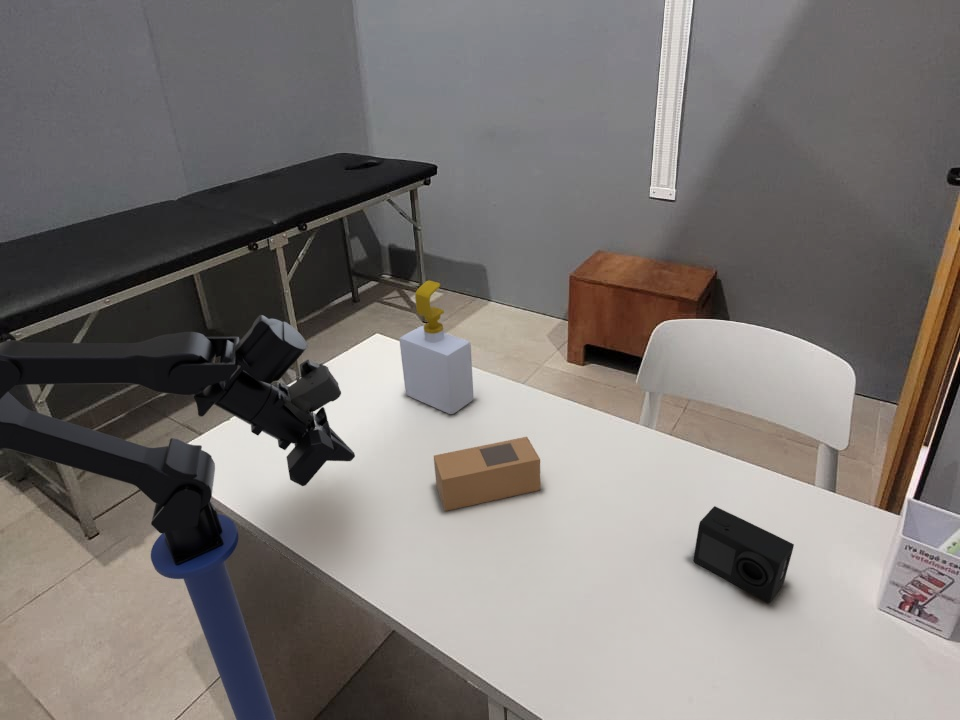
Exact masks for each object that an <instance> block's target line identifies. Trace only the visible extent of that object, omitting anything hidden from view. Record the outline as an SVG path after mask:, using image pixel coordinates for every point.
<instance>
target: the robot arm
mask: <svg viewBox="0 0 960 720" xmlns="http://www.w3.org/2000/svg"><path fill="white" fill-rule="evenodd" d="M308 346H309V345H308V342H307V341H306V339H305V338H304V337H303V335H302V334H301V333H300V332H299V331H298V330H297V329H296V328H295V327H293V326H292V325H290V324H289V323H288V322H286V321H281V320H279V319H277V318H268V317H266V316H265V315H263V314H259V315H258V316H257V317H256V319H254V321H253V324H252V325H251V327H250V328H249V330H248V331H247V332H246V333H245V334H244V335H243V337H241V338H240V337H239V336H205V334H203V333H200V332H196V331H183V332H177V333H168V334H161V335H158V336H155V337H152V338H149V339H146V340H143V341H139V342H132V343H123V342H121V343H120V342H118V343H117V342H115V343H114V342H111V343H110V342H108V343H104V342H103V343H102V342H100V343H99V342H93V343H91V342H24V341H22V340H17V339H12V340H11V339H10V340H5V341H3V342H1V343H0V450H10V451H13V452H18V453H20V454H24V455H28V456H30V457H34V458H39V459H42V460H45V461H49V462H52V463H56V464H59V465H63V466H67V467H70V468H73V469H77V470H80V471H83V472H88V473H91V474H95V475H97V476H102V477H105V478H108V479H112V480H116V481H118V482H122V483H126V484H129V485H132V486H134V487H136V488H137V489H138V490H139V491H140V492H142V493H143V494H144V495H145V496H146V497H147V498H148V499H149V500H150V501H151V502H152V503H154V504H155V505H154V509H153V513H152V518H151V522H150V525H151V526H152V527H153V528H154V529H155V530H156V531H157V532H158V533H159V534H162V533H164V535H165V541H166V543H167V546H168V548H169V551H170V553H171V556H172V558H173V561H174V563H175V565H177V566H178V565H181V564H183V563H185V562H187V561H190V560H192V559H194V558H196V557H198V556H201V555H203V554H205V553H207V552H210V551H212V550H214V549H216V548H218V547H221V546H222V545H223V544H224V542H223V539H222V537H221V535H220V534H221V533H222V532H223V530H222V527H221V524H220V521H219V518H218V514H219V513H218V512H217V509H216V508H215V506H214V504H213V501H211V499H212V497H213V487H214V483H215V482H214V481H215V475H216V474H215V472H216V463H215V461H214V459H213V458H212V455H211V454H210V453H208V452H207V451H205V450H202V448H203V446H202V445H201V444H198V445H197V444H190V443H187V442H185V441H183V440H181V439H178V438H176V437H175V438H174V437H171V438H170V439H169V442H168V445H167V446H158V447H148V446H145V445H142V444H138V443H135V442H132V441H129V440H126V439H122V438H121V437H120V438H119V437H116V436H113V435H110V434H106V433H104V432H101V431H98V430H95V429H91V428H88V427H85V426H81V425H78V424H74V423H72V422H68V421H66V420H62V419H59V418H57V417H56V418H55V417H53V416H49V415H46V414H43V413H40V412H37V411H34V410H31V409H28V408H27V407H25V406H24V405H23V404H21V402H20V401H19V400H18V399H16V398H15V397H14V396H13V395H12V394H11V393H10V390H12V389H13V388H14V387H15V386H21V385H23V386H24V385H25V386H27V385H28V386H31V385H32V386H33V385H34V386H35V385H36V386H37V385H115V384H117V385H122V384H123V385H124V384H128V385H134V386H135V385H136V386H140V387H141V386H142V387H143V388H146V389H148V390H149V391H150V390H151V391H152V392H156V393H158V394H159V393H160V394H168V395H176V396H183V397H184V396H185V397H186V396H187V397H190V396H193V397H192V398H193V400H194V402H195V404H196V409H197V415H198V416H199V417H204V416H206V414H207V413H208V412H209V411H210V409H212V407H213V406H215V407H218V408H219V409H221V410H223V411H225V412H226V413H228V414H230V415H232V416H233V417H236V418H237V419H240V420H241V421H243V422H245V423H246V424H248V425H250V432H251V433H252V434H254V435H256V436H259V435H261V433H262V432H263V433H265V434H266V435H268V436H270V437H272V438H274V439H275V440H276V441H277V445H278V448H280V449H281V450H283V451H286V450H287V449H288V447H290V445H291V444H293V445H294V447H293V448H292V450H291V451H290V452H289V453H288V454H287V455H286V464H287V470H288V475H289V476H288V477H289V480H290V481H292V482H293V483H295V484H297V485H299V486H301V487H304V486H305V487H306V486H307V485H308V484H309V482H310V481H311V480H312V479H313V478H314V476H315V475H317V473H318V472H319V470H320V469H321V468H322V467H323V466H324V465H325V464H326V462H351V461H353V460H354V458H355V457H356V455H355V452H354V450H353V449H352V448H351V447H349V446H348V445H347V443H346V442H345V441H343V439H342V438H341V437H340V436H339V435H338V434H337V432H335V430H334V429H333V428H331V427H330V423H329V420H328V416H327V412H326V408H325V407H324V406H326V405H327V404H329V403H331V402H334V401H336V400H338V399H339V398H340V397H341V396H342V391H341V389H340V386H339V382H338V381H337V380H336V378H335V376H334V375H333V374H332V373H331V371H330V368H329V367H328V365H325V364H323V362H320V363H317V362H315V361H314V360H310V359H306V360H304V361H303V362H301V363H299V374H300V377H299V376H298V377H296V378H295V382H294V383H292V384H291V385H287V384H285V383H284V382H278V381H280V380H281V378H282V377H283V376H284V375H285V374H286V373H287V372H288V371H289V369H290V368H291V367H292V366H293V365H294V364H295V363H296V361H297V360H298V359H299V358H300V357H302V355H303V353H304V352H306V350H307V349H308V348H309V347H308ZM219 357H220V358H219ZM217 358H219V362H216V359H217ZM273 382H275V384H274V385H273V384H272V383H273ZM316 411H317V412H316ZM315 412H316V413H315ZM178 561H179V562H178Z"/></svg>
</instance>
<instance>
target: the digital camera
mask: <svg viewBox="0 0 960 720" xmlns="http://www.w3.org/2000/svg"><path fill="white" fill-rule="evenodd" d="M695 541H696V542H695V548H694V553H693V559H692V561H693V562H694V563H696V564H697V565H699V566H701V567H703V568H705V569H706V570H708V571H710V572H711V573H714V574H715V575H717V576H719V577H721V578H722V579H725V580H726V581H728V582H729V583H732V584H733V585H735V586H737V587H739V588H740V589H743V590H744V591H746V592H748V593H750V594H751V595H754V596H755V597H757V598H759V599H760V600H763V601H764V602H766V603H769V604H771V602H772V600H773V599H774V598H775V596H776V595H777V594H778V592H779V590H781V588H782V586H783V585H784V584H785V579H786V577H787V573H788V569H789V565H790V562H791V559H792V555H793V551H794V546H795V544H794V543H792V542H790V541H788V540H786V539H784V538H782V537H780V536H778V535H776V534H774V533H771V532H770V531H767V530H765V529H764V528H763V527H759V526H757V525H755V524H753V523H751V522H749V521H748V520H745V519H743V518H742V517H741V518H740V517H739V516H737V515H736V514H735V515H734V514H733V513H731V512H728V511H726V510H724V509H722V508H719V507H718V506H716V505H714V506H713V507H712V508H711V509H710V510H709V511H708V512H707V514H706V515H704V516H703V518H702V519H701V520H700V521H699V523H698V528H697V535H696V540H695Z"/></svg>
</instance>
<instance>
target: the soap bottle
mask: <svg viewBox="0 0 960 720" xmlns="http://www.w3.org/2000/svg"><path fill="white" fill-rule="evenodd" d="M440 287H441V283H439V282H437V281H433V280H430V279H429V280H426V281H425V282H424V283H423V284H421V286H419V287H418V288H417V289H416V291H415V295H414V299H415V309H416V313H417V314H418V315H420V316H423V317H424V320H425V321H427V323H425V324H424V325H421V326H418V327H416V328H415V329H413V330H411V331H409V332H407V333H405V334H403V335H401V336H400V337H399V350H400V356H401V365H402V374H403V375H402V376H403V382H404V392H405V394H406V396H408V397H409V398H412V399H415V400H417V401H419V402H421V403H423V404H426V405H428V406H431V407H433V408H435V409H437V410H440V411H441V412H444V413H446V414H448V415H454V414H455V413H458V412H459V411H460V410H461V409H463V408H464V407H466V406H467V405H468V404H470V403H471V402H473V400H474V381H473V380H474V379H473V361H472V345H471V342H470V341H469V340H467V339H464V338H461V337H458V336H455V335H453V334H450V333H446V332H444V324H443V323H441V322H439V320H440V319H441V315H443V314H444V313H445V310H444V309H442V308H439V307H436V306H431V297H432V295H433V294H434V293H435V292H436V291H437V290H438V289H439V288H440Z"/></svg>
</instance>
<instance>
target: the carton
mask: <svg viewBox="0 0 960 720" xmlns="http://www.w3.org/2000/svg"><path fill="white" fill-rule="evenodd" d="M433 467H434V474H435V485H436V489H437V492H438V495H439V498H440V501H441V504H442V506H443V507H442V508H443V509H444V512H447V511H452V510H457V509H461V508H465V507H470V506H474V505H478V504H484V503H488V502H493V501H497V500H501V499H506V498H511V497H515V496H520V495H525V494H529V493H533V492H538V491H540V490H541V457H540V456H539V455H538V453H537V451H536V449H535V448H534V445H533V444H532V442H531V441H530V439H529V437H528V436H523V437H518V438H512V439H508V440H504V441H498V442H493V443H487V444H483V445H479V446H473V447H468V448H464V449H459V450H453V451H449V452H444V453H439V454H435V455H433Z"/></svg>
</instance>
